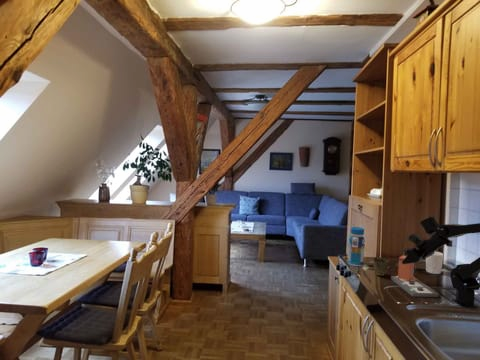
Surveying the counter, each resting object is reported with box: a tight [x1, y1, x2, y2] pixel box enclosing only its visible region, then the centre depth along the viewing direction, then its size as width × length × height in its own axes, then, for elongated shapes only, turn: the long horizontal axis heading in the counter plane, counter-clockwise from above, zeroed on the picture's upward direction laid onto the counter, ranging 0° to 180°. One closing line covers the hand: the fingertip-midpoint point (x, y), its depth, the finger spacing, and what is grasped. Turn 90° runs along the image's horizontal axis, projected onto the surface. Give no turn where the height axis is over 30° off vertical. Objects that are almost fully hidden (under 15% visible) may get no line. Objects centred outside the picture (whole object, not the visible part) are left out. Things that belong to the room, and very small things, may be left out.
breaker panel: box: [390, 275, 440, 298], centre depth 151 cm, size 20×11×2 cm, turn 1°
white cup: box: [425, 251, 444, 275], centre depth 173 cm, size 8×8×10 cm
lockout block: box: [397, 255, 415, 281], centre depth 158 cm, size 5×5×10 cm
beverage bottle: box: [347, 226, 366, 267], centre depth 182 cm, size 8×8×20 cm
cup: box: [372, 257, 390, 277], centre depth 166 cm, size 8×7×8 cm
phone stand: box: [396, 245, 417, 273], centre depth 177 cm, size 9×6×12 cm, turn 62°
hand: (406, 261), depth 157 cm, fingers open, 9 cm apart
